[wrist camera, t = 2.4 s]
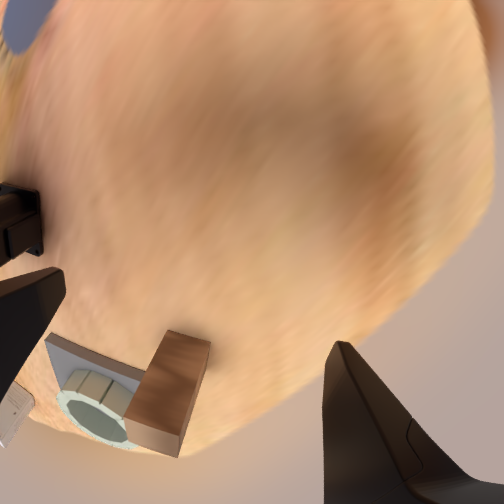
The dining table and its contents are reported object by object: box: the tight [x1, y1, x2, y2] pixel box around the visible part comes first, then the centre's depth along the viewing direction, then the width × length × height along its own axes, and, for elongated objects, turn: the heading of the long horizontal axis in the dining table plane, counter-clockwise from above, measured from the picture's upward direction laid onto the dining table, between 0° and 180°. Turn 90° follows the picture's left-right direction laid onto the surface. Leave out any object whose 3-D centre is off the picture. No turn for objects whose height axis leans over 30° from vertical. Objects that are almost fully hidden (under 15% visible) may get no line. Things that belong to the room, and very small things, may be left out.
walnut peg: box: [123, 330, 211, 458], centre depth 22 cm, size 4×4×10 cm
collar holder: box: [44, 333, 145, 449], centre depth 30 cm, size 16×14×5 cm
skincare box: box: [0, 381, 35, 448], centre depth 33 cm, size 6×4×12 cm
